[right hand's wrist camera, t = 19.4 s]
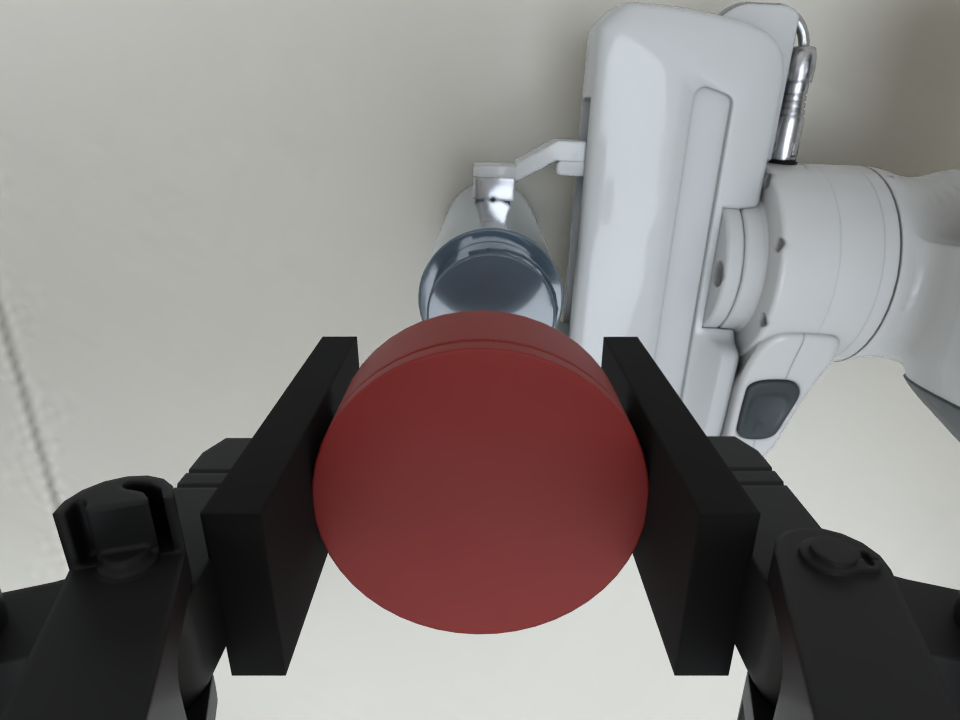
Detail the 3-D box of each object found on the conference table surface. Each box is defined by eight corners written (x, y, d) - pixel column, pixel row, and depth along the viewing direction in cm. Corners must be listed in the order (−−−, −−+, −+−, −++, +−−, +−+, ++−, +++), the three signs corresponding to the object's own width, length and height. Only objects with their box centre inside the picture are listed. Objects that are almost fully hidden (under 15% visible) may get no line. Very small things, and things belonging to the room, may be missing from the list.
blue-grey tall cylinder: (540, 260, 36) (579, 374, 20) (456, 276, 36) (431, 400, 21) (526, 172, 34) (556, 223, 18) (437, 190, 34) (395, 255, 19)
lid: (279, 393, 12) (242, 446, 10) (545, 253, 11) (559, 283, 9) (429, 598, 13) (420, 675, 12) (667, 494, 12) (700, 561, 11)
